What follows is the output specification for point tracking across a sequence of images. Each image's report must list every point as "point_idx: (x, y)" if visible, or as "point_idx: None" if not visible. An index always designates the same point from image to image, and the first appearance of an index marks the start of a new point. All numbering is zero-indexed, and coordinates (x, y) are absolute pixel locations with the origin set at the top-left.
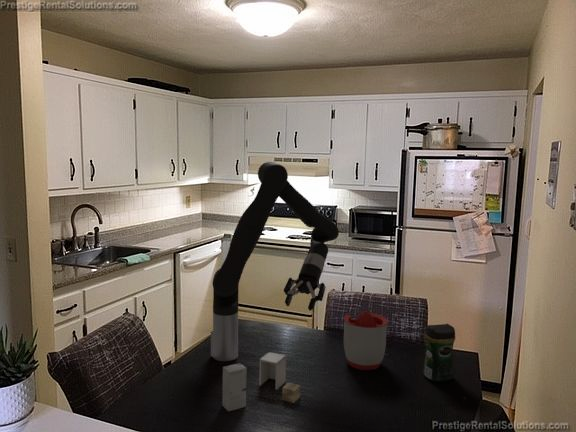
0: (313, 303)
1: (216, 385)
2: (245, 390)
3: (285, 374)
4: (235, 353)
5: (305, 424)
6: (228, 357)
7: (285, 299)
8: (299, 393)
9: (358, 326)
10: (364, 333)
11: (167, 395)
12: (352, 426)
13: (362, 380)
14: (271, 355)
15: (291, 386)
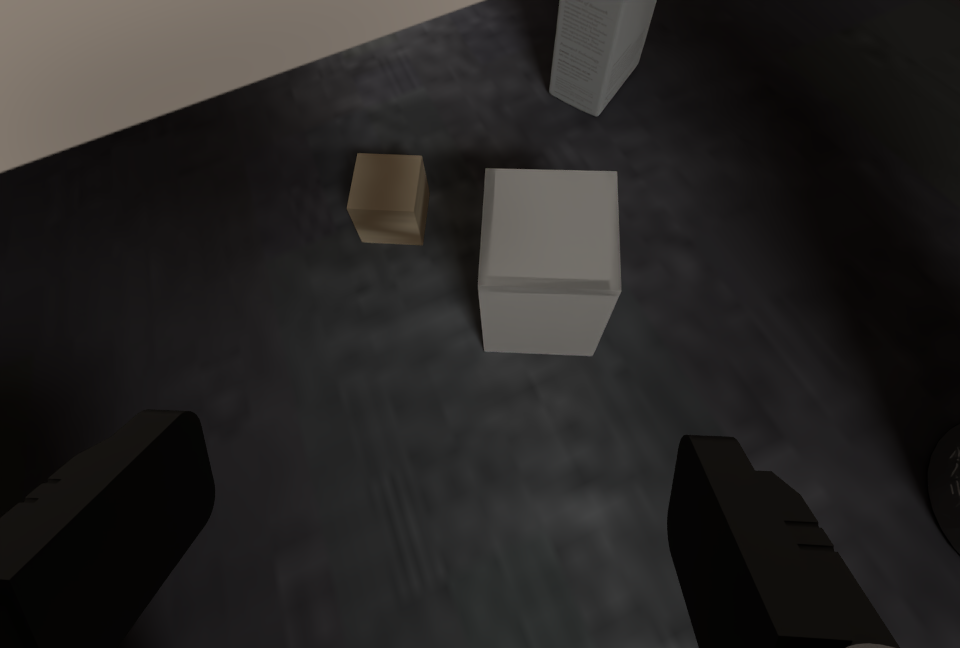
0: (23, 502)
1: (776, 179)
2: (556, 35)
3: (483, 334)
4: (955, 484)
5: (284, 86)
6: (957, 433)
7: (823, 531)
8: (357, 229)
9: None
10: None
11: (890, 41)
12: (108, 139)
13: None
14: (572, 244)
15: (383, 181)
